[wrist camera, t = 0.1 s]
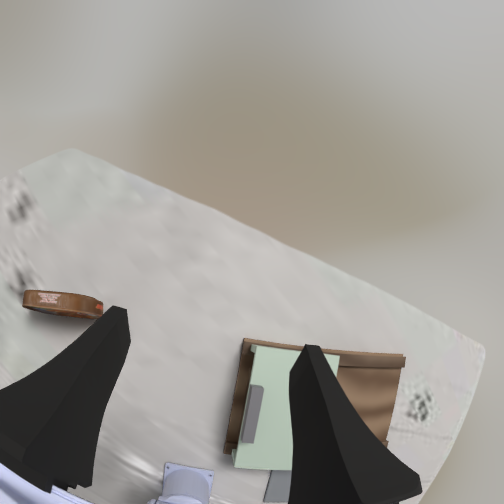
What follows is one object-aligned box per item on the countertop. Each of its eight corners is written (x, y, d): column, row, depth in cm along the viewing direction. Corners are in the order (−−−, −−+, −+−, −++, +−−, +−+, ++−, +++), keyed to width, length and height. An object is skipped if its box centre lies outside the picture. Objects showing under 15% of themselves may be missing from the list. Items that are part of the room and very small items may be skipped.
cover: (304, 457, 35) (319, 474, 28) (231, 453, 34) (235, 473, 27) (326, 353, 40) (346, 356, 34) (251, 344, 39) (259, 347, 33)
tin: (39, 312, 37) (12, 307, 29) (40, 295, 38) (13, 286, 30) (110, 320, 39) (89, 317, 31) (111, 301, 40) (90, 293, 32)
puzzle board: (380, 450, 38) (385, 452, 37) (223, 452, 35) (224, 456, 34) (401, 354, 44) (406, 354, 42) (244, 337, 41) (245, 338, 40)
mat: (310, 499, 34) (311, 500, 33) (263, 500, 33) (264, 502, 32) (322, 462, 36) (323, 464, 36) (273, 463, 36) (274, 464, 35)
